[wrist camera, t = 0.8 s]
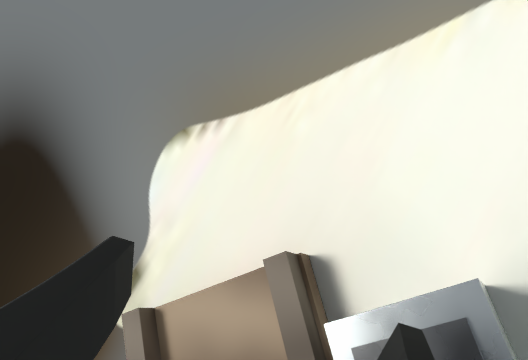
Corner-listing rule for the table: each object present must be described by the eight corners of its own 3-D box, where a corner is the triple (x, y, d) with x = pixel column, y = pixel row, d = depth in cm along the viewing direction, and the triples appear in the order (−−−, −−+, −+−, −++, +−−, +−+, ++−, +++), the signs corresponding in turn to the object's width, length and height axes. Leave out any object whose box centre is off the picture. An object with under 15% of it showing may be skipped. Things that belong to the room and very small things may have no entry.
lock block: (531, 392, 20) (536, 413, 16) (386, 421, 23) (356, 446, 19) (484, 285, 22) (477, 278, 18) (355, 322, 25) (322, 324, 21)
